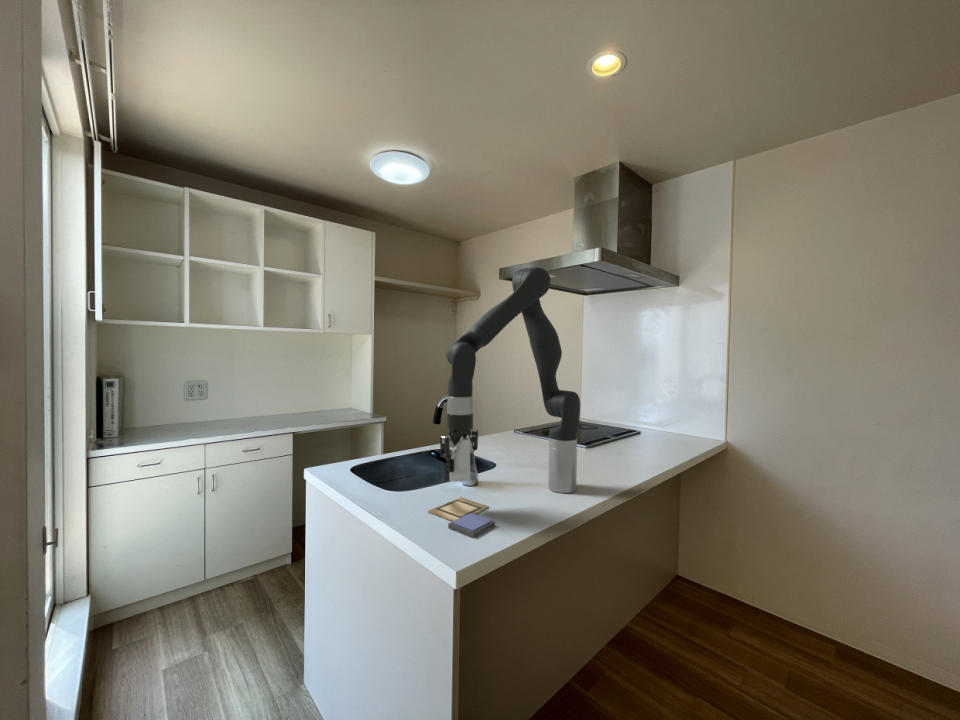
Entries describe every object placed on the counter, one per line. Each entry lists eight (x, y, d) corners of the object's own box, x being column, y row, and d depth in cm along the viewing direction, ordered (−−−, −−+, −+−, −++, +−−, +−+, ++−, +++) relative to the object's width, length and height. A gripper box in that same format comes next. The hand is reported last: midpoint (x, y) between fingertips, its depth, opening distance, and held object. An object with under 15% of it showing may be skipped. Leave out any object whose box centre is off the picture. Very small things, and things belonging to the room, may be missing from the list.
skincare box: (469, 477, 115) (469, 436, 115) (470, 482, 111) (471, 439, 111) (448, 477, 115) (449, 436, 115) (448, 482, 110) (449, 439, 110)
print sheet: (460, 498, 122) (460, 496, 122) (488, 507, 115) (488, 505, 115) (427, 512, 111) (427, 510, 111) (456, 523, 104) (456, 521, 104)
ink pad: (470, 517, 108) (470, 511, 108) (495, 525, 103) (495, 520, 103) (448, 528, 101) (448, 522, 101) (472, 538, 96) (473, 532, 96)
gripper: (466, 408, 120) (466, 461, 121) (433, 413, 109) (432, 471, 110) (485, 410, 116) (485, 466, 116) (452, 416, 105) (451, 477, 105)
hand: (459, 468), depth 113 cm, fingers closed on skincare box, 7 cm apart
